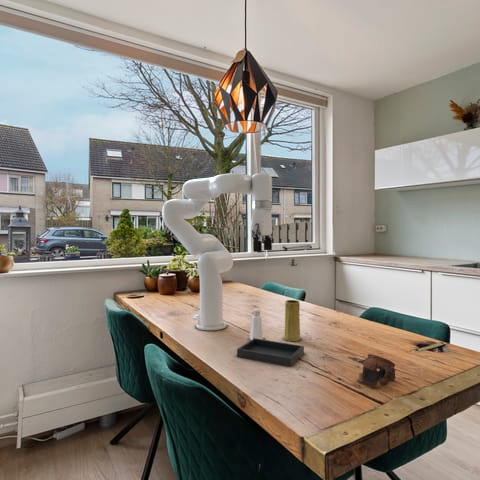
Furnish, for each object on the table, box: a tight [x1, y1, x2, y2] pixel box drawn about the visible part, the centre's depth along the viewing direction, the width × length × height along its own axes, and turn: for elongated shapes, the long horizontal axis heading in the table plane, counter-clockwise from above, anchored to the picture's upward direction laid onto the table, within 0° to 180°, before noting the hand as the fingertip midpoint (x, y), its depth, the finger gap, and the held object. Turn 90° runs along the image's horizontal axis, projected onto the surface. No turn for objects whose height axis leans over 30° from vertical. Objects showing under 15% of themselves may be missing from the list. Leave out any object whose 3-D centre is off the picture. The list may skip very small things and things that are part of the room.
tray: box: [236, 338, 305, 367], centre depth 119 cm, size 19×13×2 cm
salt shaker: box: [249, 308, 264, 341], centre depth 135 cm, size 5×5×11 cm
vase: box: [283, 299, 301, 342], centre depth 135 cm, size 6×6×14 cm
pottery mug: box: [358, 353, 396, 389], centre depth 97 cm, size 12×10×8 cm
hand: (262, 250), depth 138 cm, fingers open, 9 cm apart
